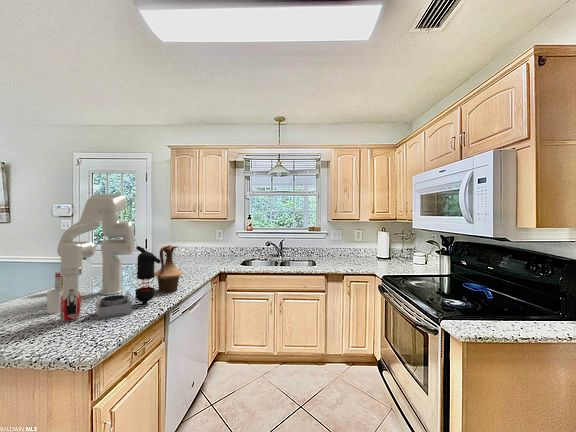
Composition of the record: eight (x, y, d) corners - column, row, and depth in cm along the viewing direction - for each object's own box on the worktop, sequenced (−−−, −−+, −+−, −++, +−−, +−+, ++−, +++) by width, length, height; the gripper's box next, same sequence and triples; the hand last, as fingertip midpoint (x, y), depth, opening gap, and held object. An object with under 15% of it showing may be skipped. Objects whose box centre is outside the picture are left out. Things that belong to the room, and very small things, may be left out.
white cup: (49, 310, 136) (50, 289, 136) (66, 308, 139) (66, 288, 139) (43, 314, 130) (43, 292, 130) (61, 313, 132) (61, 291, 133)
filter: (129, 305, 145) (130, 246, 145) (140, 300, 154) (141, 245, 154) (153, 307, 143) (155, 247, 143) (164, 302, 152) (165, 245, 152)
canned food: (75, 290, 171) (75, 270, 171) (63, 294, 163) (64, 273, 164) (63, 290, 172) (63, 270, 172) (51, 293, 164) (51, 272, 164)
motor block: (95, 312, 134) (95, 293, 134) (126, 307, 142) (127, 289, 142) (98, 319, 125) (98, 298, 126) (131, 313, 134) (131, 294, 134)
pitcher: (171, 294, 166) (172, 246, 166) (145, 292, 170) (146, 245, 170) (188, 287, 183) (188, 244, 184) (164, 286, 187) (165, 243, 187)
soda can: (84, 317, 128) (84, 290, 128) (72, 322, 121) (73, 294, 121) (68, 317, 128) (68, 290, 128) (55, 322, 121) (56, 294, 121)
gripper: (60, 269, 129) (59, 307, 129) (60, 276, 116) (60, 318, 115) (80, 268, 134) (79, 304, 134) (83, 274, 120) (82, 314, 120)
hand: (70, 311), depth 124 cm, fingers open, 9 cm apart
